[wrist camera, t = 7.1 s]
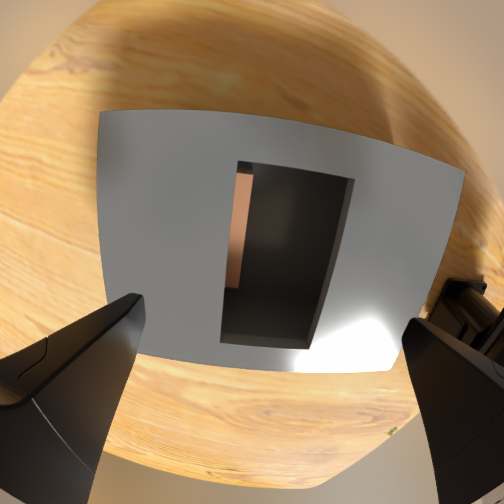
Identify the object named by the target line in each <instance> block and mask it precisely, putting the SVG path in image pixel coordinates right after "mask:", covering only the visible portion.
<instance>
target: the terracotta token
mask: <svg viewBox="0 0 504 504" xmlns="http://www.w3.org/2000/svg"><path fill="white" fill-rule="evenodd" d="M252 182H253V168H247V167H239V166H238V168H237V177H236V185H235V194H234V203H233V212H232V221H231V231H230V241H229V250H228V261H227V271H226V282H225V287H232V288H238V286H239V278H240V271H241V263H242V256H243V248H244V240H245V233H246V225H247V218H248V211H249V203H250V196H251V189H252Z"/></svg>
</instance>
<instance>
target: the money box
mask: <svg viewBox="0 0 504 504" xmlns="http://www.w3.org/2000/svg"><path fill="white" fill-rule="evenodd" d="M238 166H239V167H247V168H253V182H252V189H251V196H250V203H249V211H248V218H247V225H246V233H245V240H244V248H243V256H242V263H241V271H240V278H239V286H238V288H232V287H225V282H226V271H227V261H228V250H229V241H230V231H231V221H232V212H233V203H234V194H235V185H236V177H237V168H238ZM465 172H466V171H463V170H461V169H459V168H456V167H454V166H452V165H449V164H447V163H444V162H442V161H439V160H437V159H434V158H431V157H429V156H426V155H423V154H420V153H418V152H415V151H412V150H409V149H406V148H403V147H400V146H397V145H393V144H390V143H387V142H384V141H380V140H377V139H373V138H370V137H366V136H362V135H358V134H354V133H350V132H346V131H342V130H338V129H333V128H329V127H324V126H319V125H315V124H309V123H304V122H299V121H293V120H287V119H280V118H274V117H267V116H259V115H251V114H242V113H232V112H220V111H205V110H181V109H141V110H118V111H103V112H100V117H99V130H98V147H97V211H98V228H99V241H100V252H101V261H102V269H103V277H104V284H105V290H106V297H107V302H108V304H109V303H111V302H113V301H115V300H117V299H119V298H121V297H123V296H125V295H127V294H129V293H137V294H142V295H143V297H144V302H145V312H146V321H145V326H144V329H143V332H142V336H141V340H140V343H139V347H138V351H137V353H140V354H144V355H149V356H155V357H160V358H165V359H171V360H177V361H183V362H190V363H197V364H204V365H212V366H220V367H230V368H240V369H251V370H265V371H283V372H366V371H383V370H390V369H391V367H392V365H393V363H394V362H395V360H396V358H397V356H398V355H399V353H400V351H401V349H402V347H403V346H402V342H401V338H402V334H403V332H404V330H405V328H406V326H407V324H408V322H409V320H410V319H411V318H413V317H418V316H419V313H420V311H421V309H422V307H423V305H424V302H425V300H426V298H427V296H428V293H429V291H430V288H431V286H432V283H433V281H434V278H435V276H436V273H437V271H438V268H439V265H440V263H441V260H442V257H443V254H444V251H445V248H446V245H447V242H448V239H449V236H450V233H451V229H452V226H453V222H454V219H455V215H456V212H457V208H458V204H459V200H460V195H461V191H462V187H463V182H464V177H465Z"/></svg>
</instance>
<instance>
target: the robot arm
mask: <svg viewBox="0 0 504 504" xmlns="http://www.w3.org/2000/svg"><path fill="white" fill-rule="evenodd" d="M486 287H487V284H486V283H485V282H484V281H475V280H465V279H456V278H450V279H448V280H447V281H446V284H445V286H444V288H443V291H442V293H441V295H440V298H439V300H438V302H437V304H436V306H435V309H434V311H433V313H432V315H431V317H430V319H429V321H426V320H425V319H423V318H420V317H413V318H411V319H410V320H409V322H408V324H407V326H406V328H405V330H404V332H403V334H402V338H401V342H402V346H403V350H404V354H405V358H406V362H407V367H408V371H409V375H410V379H411V382H412V385H413V389H414V392H415V395H416V399H417V402H418V405H419V409H420V412H421V416H422V420H423V424H424V427H425V432H426V435H427V440H428V443H429V448H430V453H431V458H432V463H433V468H434V473H435V480H436V486H437V492H438V500H439V504H471V503H473V502H475V501H476V500H478V499H480V498H481V499H482V502H483V504H504V308H503V309H502V311H501V312H499V311H498V310H497V309H496V308H495V307H494V306H493V305H492V304H491V303H490V302H489V301H488V300H487V299H486V298H485V297H484V296H483V294H484V292H485V290H486ZM145 321H146V312H145V302H144V297H143V295H142V294H137V293H129V294H127V295H125V296H123V297H121V298H119V299H117V300H115V301H113V302H111V303H109V304H108V305H106V306H104V307H102V308H100V309H98V310H96V311H94V312H92V313H90V314H88V315H87V316H85V317H83V318H81V319H79V320H77V321H75V322H73V323H71V324H70V325H68V326H66V327H64V328H62V329H60V330H58V331H56V332H55V333H53V334H51V335H49V336H48V338H47V337H45V338H43V339H42V340H40V341H38V342H36V343H34V344H32V345H30V346H28V347H26V348H24V349H22V350H20V351H18V352H16V353H14V354H11V355H9V356H7V357H5V358H2V359H0V504H87V502H88V498H89V495H90V491H91V487H92V484H93V480H94V477H95V476H94V475H95V473H96V469H97V466H98V463H99V460H100V456H101V453H102V450H103V447H104V444H105V441H106V438H107V435H108V432H109V429H110V426H111V423H112V420H113V417H114V415H115V412H116V409H117V406H118V404H119V401H120V398H121V395H122V393H123V390H124V388H125V385H126V382H127V380H128V377H129V375H130V372H131V370H132V367H133V364H134V361H135V358H136V354H137V351H138V347H139V343H140V340H141V336H142V332H143V329H144V326H145Z"/></svg>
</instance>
